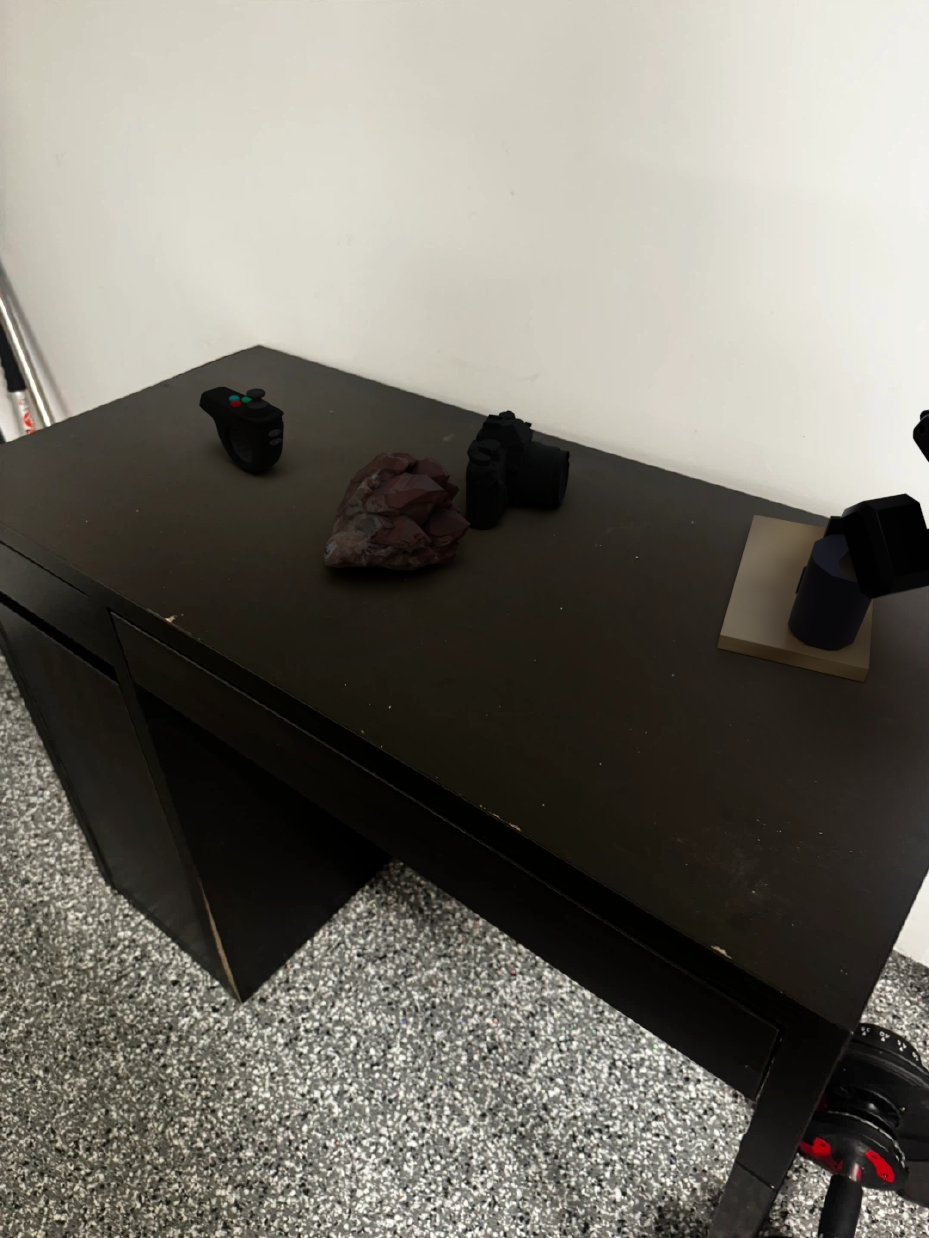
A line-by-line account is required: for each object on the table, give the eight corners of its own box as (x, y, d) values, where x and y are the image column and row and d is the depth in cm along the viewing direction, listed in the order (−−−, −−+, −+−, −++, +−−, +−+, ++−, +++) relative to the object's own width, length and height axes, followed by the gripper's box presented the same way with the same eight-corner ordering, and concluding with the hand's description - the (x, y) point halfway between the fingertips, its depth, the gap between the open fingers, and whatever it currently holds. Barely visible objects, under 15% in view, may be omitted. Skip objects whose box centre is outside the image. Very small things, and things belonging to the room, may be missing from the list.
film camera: (546, 542, 90) (551, 462, 85) (455, 527, 93) (455, 449, 87) (575, 475, 102) (581, 401, 97) (494, 464, 104) (496, 391, 99)
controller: (267, 488, 99) (254, 404, 93) (204, 455, 106) (188, 374, 100) (297, 475, 102) (287, 392, 96) (233, 443, 109) (220, 364, 103)
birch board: (872, 550, 89) (877, 537, 89) (863, 682, 73) (869, 668, 72) (751, 526, 93) (754, 514, 92) (716, 648, 77) (720, 634, 76)
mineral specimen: (361, 571, 95) (494, 546, 90) (308, 600, 83) (457, 573, 78) (334, 464, 92) (468, 432, 87) (274, 478, 80) (426, 442, 75)
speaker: (794, 591, 80) (827, 498, 73) (860, 611, 79) (900, 516, 71) (776, 644, 75) (810, 549, 68) (846, 666, 74) (888, 571, 67)
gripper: (1150, 351, 56) (961, 441, 71) (904, 387, 51) (758, 474, 66) (1206, 521, 54) (1001, 575, 69) (959, 573, 50) (797, 619, 65)
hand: (892, 557), depth 67 cm, fingers open, 9 cm apart
